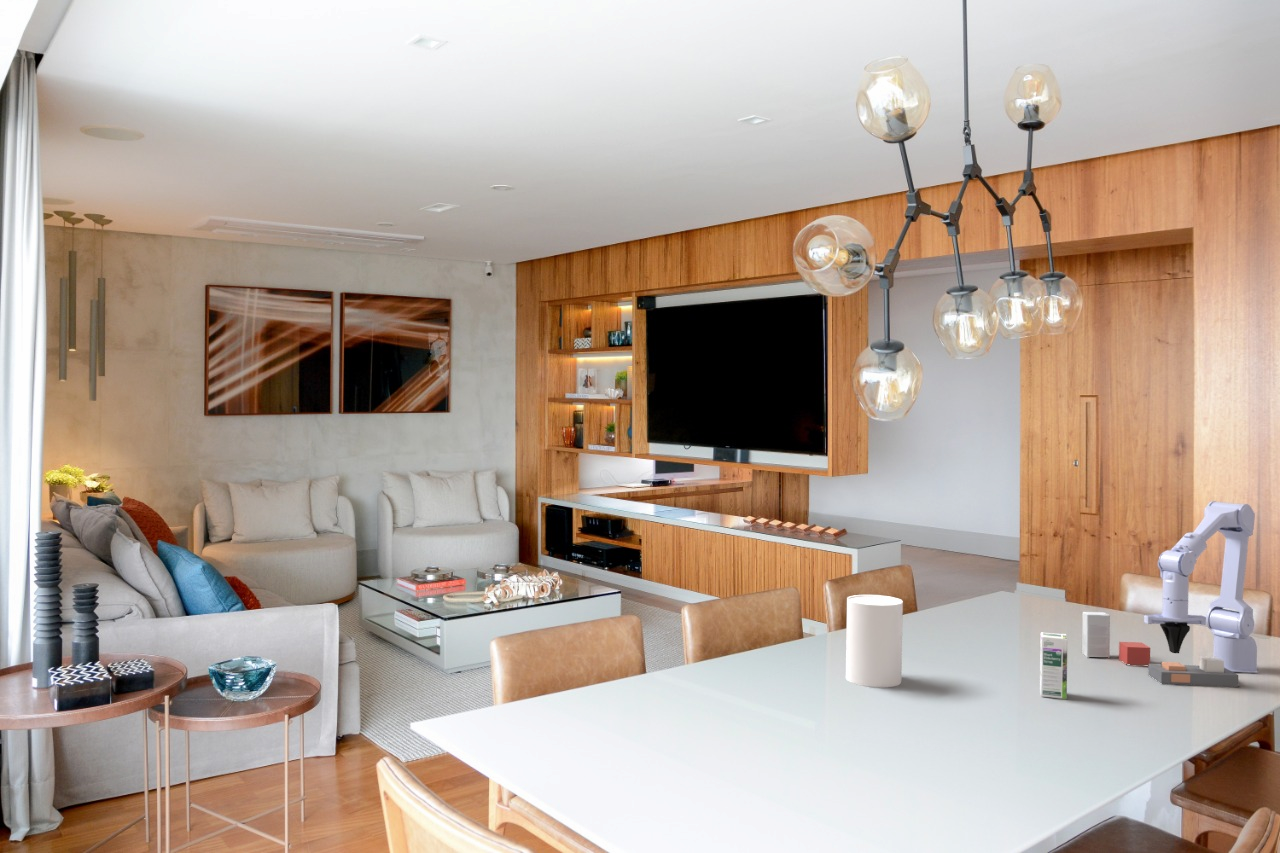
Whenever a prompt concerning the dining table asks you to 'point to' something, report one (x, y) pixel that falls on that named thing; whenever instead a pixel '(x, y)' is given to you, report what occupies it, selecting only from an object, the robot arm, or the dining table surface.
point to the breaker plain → (1212, 664)
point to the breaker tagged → (1173, 666)
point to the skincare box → (1096, 634)
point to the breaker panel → (1193, 676)
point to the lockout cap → (1134, 653)
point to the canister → (874, 640)
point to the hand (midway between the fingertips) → (1174, 652)
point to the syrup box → (1053, 665)
